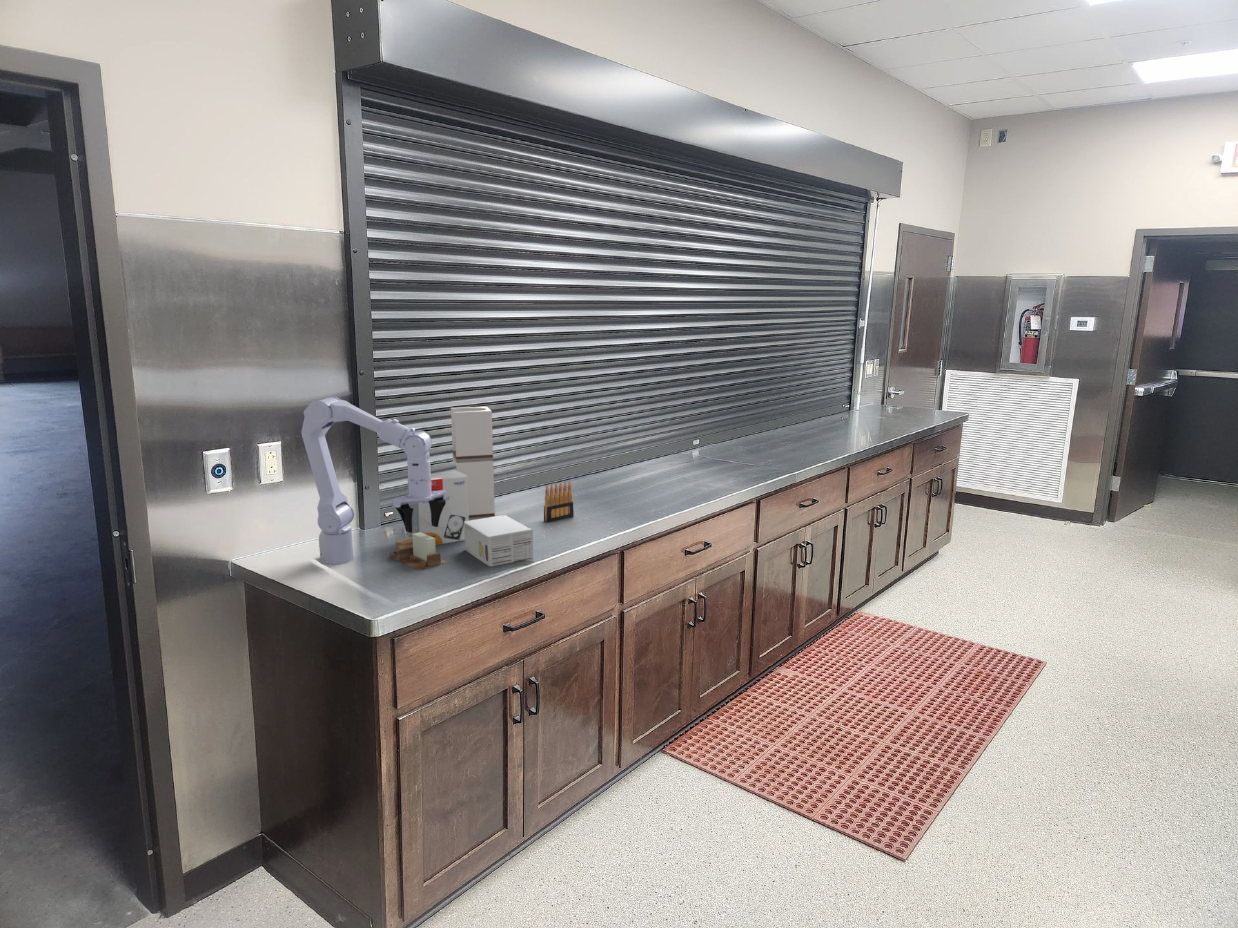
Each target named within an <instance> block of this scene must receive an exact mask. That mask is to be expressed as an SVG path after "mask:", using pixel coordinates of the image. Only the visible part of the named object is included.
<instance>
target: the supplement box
mask: <svg viewBox="0 0 1238 928" xmlns="http://www.w3.org/2000/svg"><path fill="white" fill-rule="evenodd" d="M464 534H465V540H464V550H465V551H466V552H467V553H469V554H471V556H473V557H474V558H476V559H478V560H479V561H480V562H482V563H484V564H485V565H487V566H488V567H495V566H500V565H501V566H502V565H505V564H510V563H517V562H520V561H526V562H528V563H529V562H534V529H533V528H531V527H529V526H527V525H525V524H523V523H522V522H519V521H517V520H516V519H514V518H512V517H510V516H508V514H501V515H495V517H489V518H483V519H476V520H470V521H465V522H464Z"/></svg>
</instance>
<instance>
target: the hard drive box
mask: <svg viewBox="0 0 1238 928" xmlns="http://www.w3.org/2000/svg"><path fill="white" fill-rule="evenodd" d="M407 488H408V489H407V490H408V492H407V493H408V494H409V484H408V483H407ZM440 490H444V491H447V498H445V499H443V500H446V504H445V506H444V508H443V510H442V512H441V515H440V519H439V524H438V527H434V526H432V523H431V510H430V505H429V501H426V502H420V503H415V504H410V505H409V506H410V508H413V514H412V532H411V533H409V535H410V536H409V538H410V537H412V534H414V533H418V532H421V533H424V534H426V535H428V536H431V537H433V538H435V546H437V545H438V546H439V545H444V544H450V543H456V542H461V541H462V542H463V541H465V534H464V522H465V521H469V512H468V476H467V475H465V474H463V473H461V472H459V471H458V472H457V471H447V472H438V473H431V491H440Z"/></svg>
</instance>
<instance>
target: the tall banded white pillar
mask: <svg viewBox="0 0 1238 928" xmlns="http://www.w3.org/2000/svg"><path fill="white" fill-rule="evenodd" d="M492 413H493V412H492V410H491V409H490V408H489V407H488V406H471V407H469V406H468V407H467V406H466V407H463V406H462V407H450V419H451V421H450V423H451V444H452V447H451V449H452V461H453V463H454V465H455V467H456V472H458V471H459V472H461V473H463V474H465V475H467V476H468V512H469V521H470V520H476V519H483V518H489V517H495V516H496V511H495V510H496V509H495V508H496V507H495V506H496V505H495V482H494V481H495V480H494V479H495V475H494V472H495V471H494V447H493V446H494V443H493V439H494V438H493V414H492Z"/></svg>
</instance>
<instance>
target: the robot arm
mask: <svg viewBox="0 0 1238 928" xmlns="http://www.w3.org/2000/svg"><path fill="white" fill-rule="evenodd" d="M303 416H304V419H303V423H302V428H301V438H302V441H303V444H304V447H305V451H306V455H307V458H308V462H309V464H310V469H311V472H312V475H313V479H314V482H315V485H316V490H317V493H318V496H319V500H318V504H317V507H316V508H317V514H318V515H317V525H318V528H319V529H320V530H321V531H320V533H319V534H318V535H319V536H318V547H319V557H320V559H322V560H324V562H325V563H326V564H328V565H329V564H330V565H343V564H347V563H350V562H352V561H353V560H354V547H353V533H352V532H353V531H352V525H351V523H352V522H353V520H354V518H355V510H354V508H353V507H352V505H351V504H350V503H349V501H348V498H347V496H346V495H345V494H344V493H342V492H341V491H342V490H341V488H340V485H339V481H338V478H337V477H338V476H337V475H336V470H335V467H334V464H333V460H332V456H331V453H330V450H329V446H328V442H327V439H326V434H327V433H328V431H329V430H330V428H331V427H332V426H333V425H334V424H335V423H339V422H347V421H348V422H350V423H353V424H355V425H357V426H361V427H363V428H365V429H368V430H370V431H372V432H375V433H376V434H377V436H378V439H380V440H382V441H384V442H386V443H388V444H390V445H392V446H395V447H396V448H399V449H401V450H403V451H404V453H405V455H406V456H407V457H406V458H407V463H406V464H407V485H408V484H409V493H408V494H407V495H403V496H399V497H397V498H393V500H392V502H393V505H392V506H393V507H394V508H395V509H396V511H397V513H398V514H399V516H400V517H401V520H402V523H403V525H404V529H405V532H407V533H409V534H410V533H411V532H412V514H413V508H410V506H409V505H410V504H415V503H420V502H426V501H429V505H430V510H431V523H432V526H434V527H438V524H439V519H440V515H441V512H442V510H443V508H444V506H445V504H446V500H443V499H445V498H447V491H444V490H440V491H431V474H432V473H431V460H430V459H431V458H430V451H429V450H431V448H432V446H433V440H432V438H431V435H430V434H428V433H427V432H425V431H424V430H416V428H414V427H410V428H409V427H408V426H405V425H403V424H401V423H400V420H398V419H396V418H393V419H391V418H389V419H385V420H382V419H380V418H378V417H376V416H374V415H372V414H371V413H369V412H367V411H364V410H363V409H361V408H359V407H357V406H356V405H353V404H351V403H350V402H349V401H347V400H344V399H340V398H339V397H337V396H328V397H325V398H323V399H320V400H314V401H312V402H310V403H309V404H308V406H307V407H306V408H305V409H304V411H303ZM321 564H322V565H324V566H326V564H324V563H323V562H321ZM329 568H330V569H331V567H330V566H328V569H329Z"/></svg>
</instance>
